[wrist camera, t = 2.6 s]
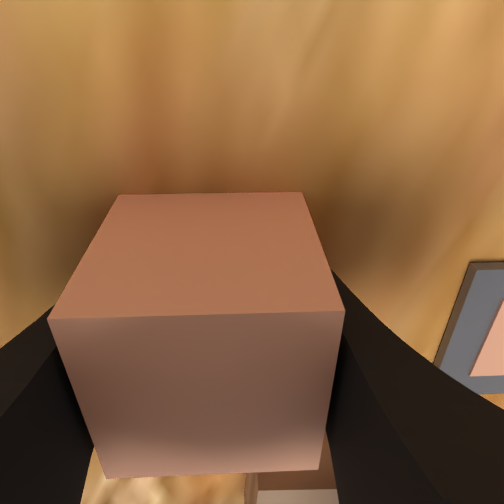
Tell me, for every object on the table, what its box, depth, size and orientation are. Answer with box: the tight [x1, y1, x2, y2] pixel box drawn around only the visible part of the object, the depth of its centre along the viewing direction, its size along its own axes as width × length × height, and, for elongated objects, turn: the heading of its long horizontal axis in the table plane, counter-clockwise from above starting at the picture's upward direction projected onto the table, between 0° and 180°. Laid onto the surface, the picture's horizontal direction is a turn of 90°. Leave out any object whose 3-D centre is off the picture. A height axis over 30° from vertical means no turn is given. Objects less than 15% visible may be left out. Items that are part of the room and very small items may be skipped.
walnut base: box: [244, 430, 339, 504], centre depth 16 cm, size 8×8×4 cm
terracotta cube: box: [47, 192, 345, 479], centre depth 10 cm, size 5×5×5 cm
